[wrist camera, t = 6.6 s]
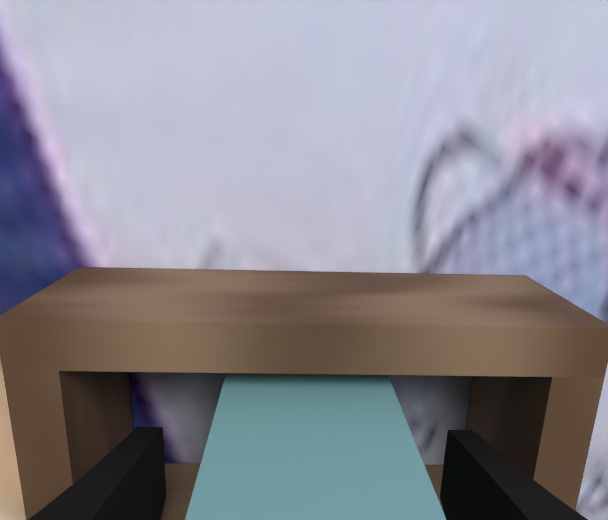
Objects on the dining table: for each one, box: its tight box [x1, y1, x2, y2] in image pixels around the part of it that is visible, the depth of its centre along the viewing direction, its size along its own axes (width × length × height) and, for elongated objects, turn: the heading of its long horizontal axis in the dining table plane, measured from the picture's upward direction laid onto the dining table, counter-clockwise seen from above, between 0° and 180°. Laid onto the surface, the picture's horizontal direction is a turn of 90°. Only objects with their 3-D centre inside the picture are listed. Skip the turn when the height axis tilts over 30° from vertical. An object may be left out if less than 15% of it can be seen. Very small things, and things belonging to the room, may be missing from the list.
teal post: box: [185, 373, 446, 520], centre depth 11 cm, size 4×4×8 cm
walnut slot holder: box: [0, 267, 608, 520], centre depth 13 cm, size 13×8×4 cm, turn 89°
